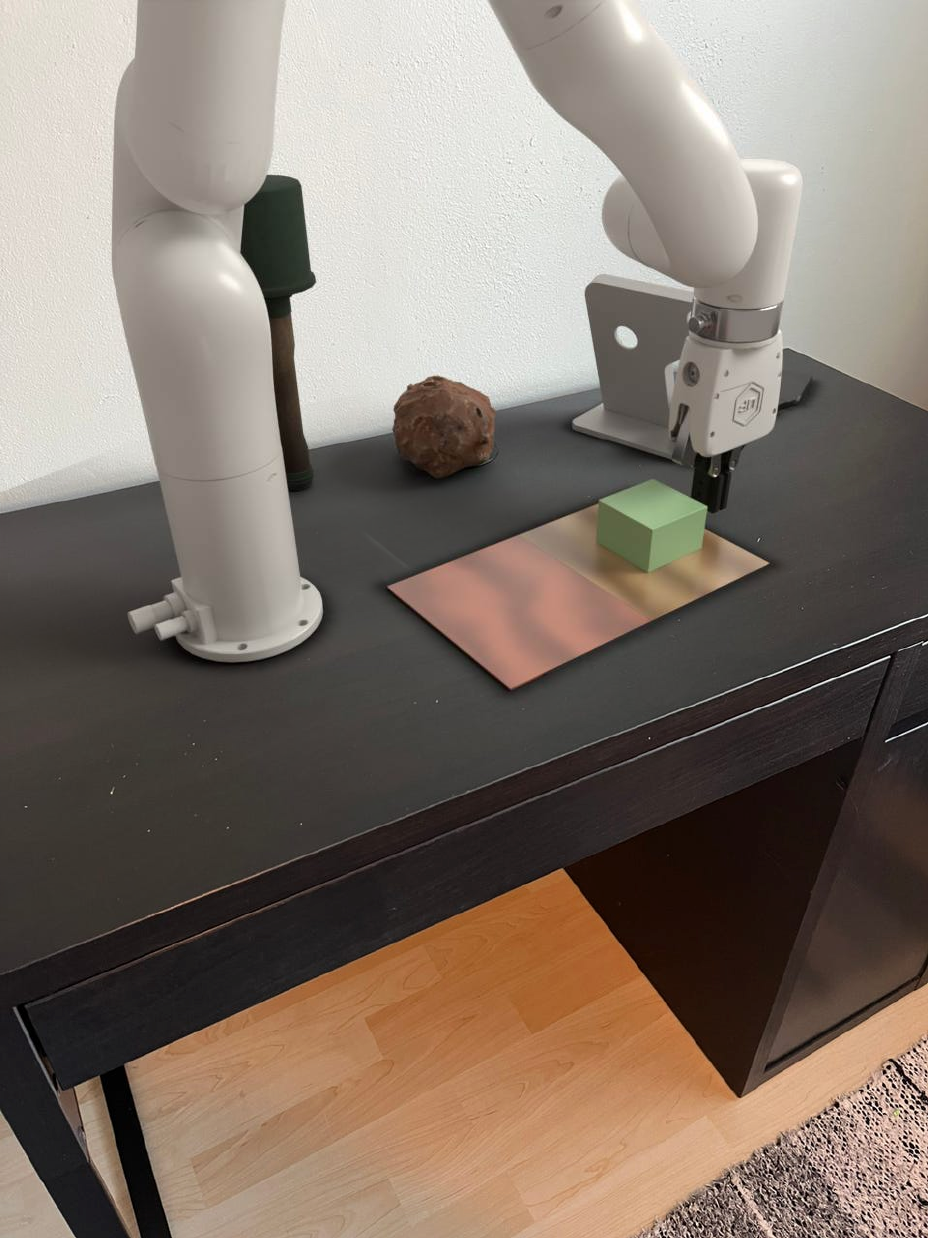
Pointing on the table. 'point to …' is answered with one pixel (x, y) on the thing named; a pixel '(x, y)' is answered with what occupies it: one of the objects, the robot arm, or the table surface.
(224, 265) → the robot arm
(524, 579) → the plate
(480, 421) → the decorative rock
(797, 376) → the dark sector wedge
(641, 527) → the green block
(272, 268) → the potato masher grenade
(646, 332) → the phone holder
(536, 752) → the table surface
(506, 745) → the table surface
